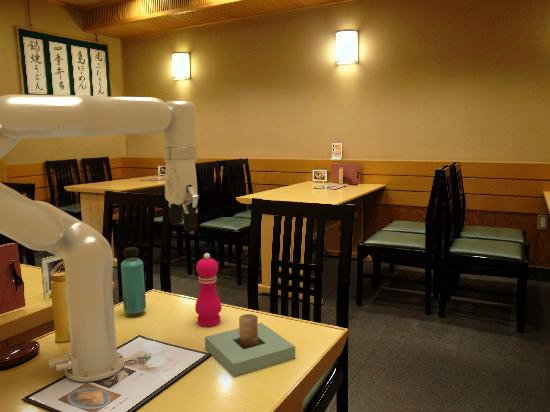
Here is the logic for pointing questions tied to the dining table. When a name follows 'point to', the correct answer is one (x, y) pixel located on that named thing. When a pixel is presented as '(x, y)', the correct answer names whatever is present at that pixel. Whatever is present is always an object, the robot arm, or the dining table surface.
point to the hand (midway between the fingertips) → (183, 226)
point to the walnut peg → (248, 331)
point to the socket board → (249, 350)
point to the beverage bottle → (133, 282)
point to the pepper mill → (207, 293)
